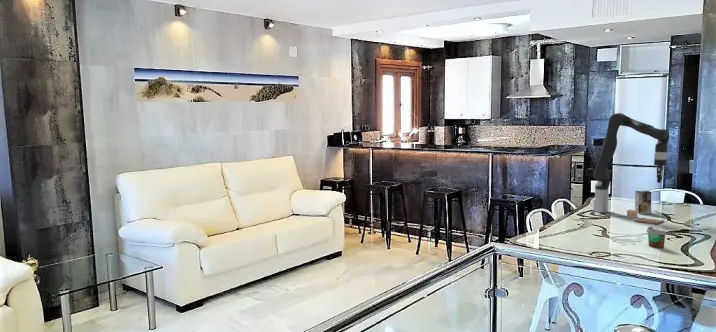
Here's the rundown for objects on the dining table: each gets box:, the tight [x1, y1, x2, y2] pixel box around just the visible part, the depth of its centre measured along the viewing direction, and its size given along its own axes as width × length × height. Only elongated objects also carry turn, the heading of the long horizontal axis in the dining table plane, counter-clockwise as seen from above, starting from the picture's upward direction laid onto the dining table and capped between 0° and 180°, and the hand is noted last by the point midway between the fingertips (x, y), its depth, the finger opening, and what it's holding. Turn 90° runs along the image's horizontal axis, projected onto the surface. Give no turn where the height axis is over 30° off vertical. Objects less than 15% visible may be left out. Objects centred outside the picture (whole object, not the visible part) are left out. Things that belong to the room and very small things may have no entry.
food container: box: [646, 226, 667, 249], centre depth 302 cm, size 12×6×10 cm, turn 5°
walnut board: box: [634, 217, 665, 226], centre depth 363 cm, size 14×12×1 cm
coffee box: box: [634, 190, 652, 215], centre depth 393 cm, size 9×6×16 cm
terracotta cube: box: [626, 209, 638, 219], centre depth 380 cm, size 5×5×5 cm
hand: (659, 181), depth 369 cm, fingers open, 8 cm apart
